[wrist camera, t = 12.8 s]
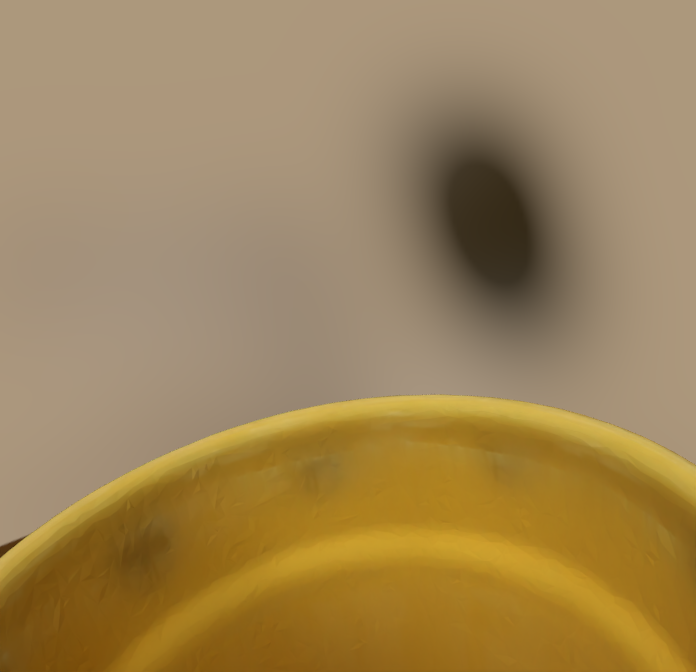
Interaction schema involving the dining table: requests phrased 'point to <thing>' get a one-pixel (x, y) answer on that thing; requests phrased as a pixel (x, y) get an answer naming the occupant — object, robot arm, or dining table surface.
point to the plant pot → (371, 550)
